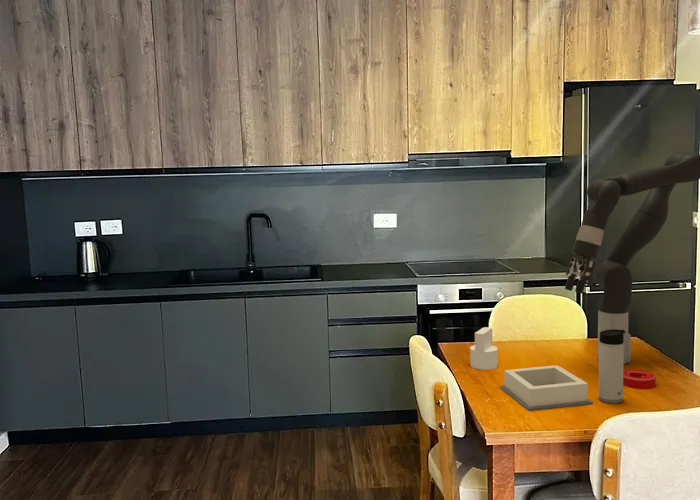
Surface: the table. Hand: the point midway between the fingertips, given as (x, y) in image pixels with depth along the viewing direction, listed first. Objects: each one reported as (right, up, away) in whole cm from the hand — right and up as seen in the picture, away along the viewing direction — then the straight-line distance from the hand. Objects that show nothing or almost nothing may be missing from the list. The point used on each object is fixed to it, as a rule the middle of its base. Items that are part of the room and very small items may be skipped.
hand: (573, 291), depth 196 cm
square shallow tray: (-14, -29, -16) cm, 36 cm away
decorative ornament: (+16, -27, -9) cm, 33 cm away
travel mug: (+3, -29, -21) cm, 36 cm away
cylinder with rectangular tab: (-25, -26, +14) cm, 39 cm away
